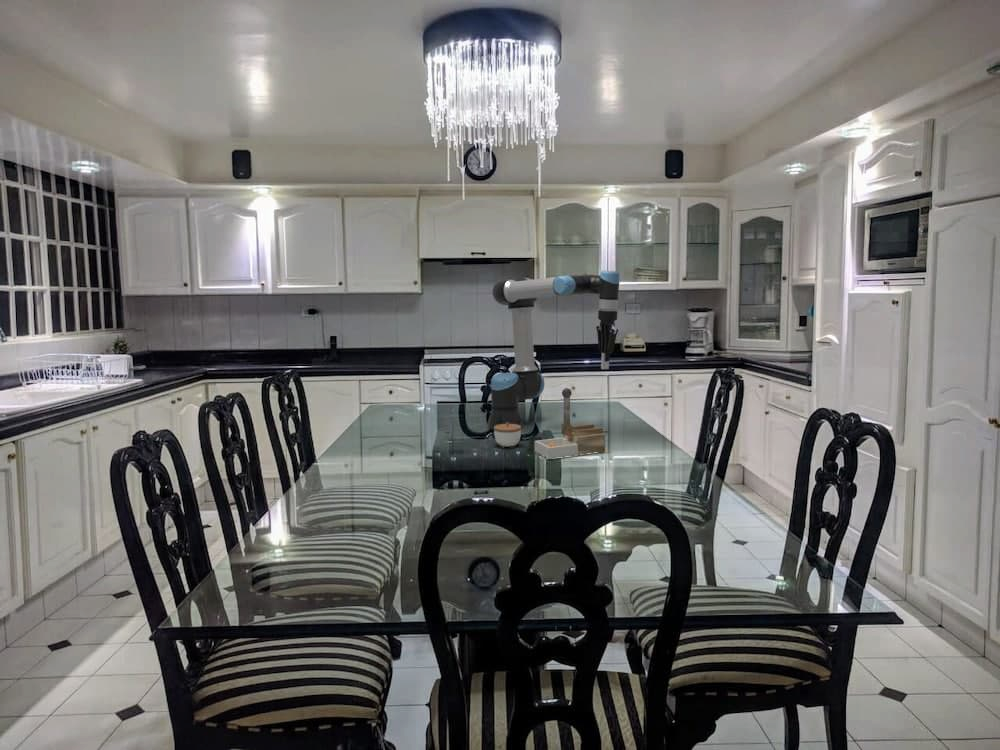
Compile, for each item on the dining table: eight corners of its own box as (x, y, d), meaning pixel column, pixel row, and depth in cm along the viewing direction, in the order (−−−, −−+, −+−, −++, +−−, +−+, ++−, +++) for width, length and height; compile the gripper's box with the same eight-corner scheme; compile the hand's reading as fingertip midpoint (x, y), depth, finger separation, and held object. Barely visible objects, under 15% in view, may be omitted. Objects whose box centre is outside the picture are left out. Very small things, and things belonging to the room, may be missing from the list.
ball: (555, 449, 275) (546, 454, 274) (551, 440, 274) (542, 444, 273) (560, 451, 272) (551, 456, 270) (556, 442, 270) (547, 447, 269)
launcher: (563, 449, 281) (563, 426, 279) (590, 445, 285) (590, 423, 284) (577, 455, 271) (577, 432, 269) (605, 452, 275) (605, 428, 274)
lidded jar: (498, 450, 281) (497, 426, 279) (491, 443, 291) (490, 420, 289) (524, 447, 284) (524, 424, 282) (516, 441, 294) (516, 418, 292)
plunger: (559, 433, 275) (559, 387, 273) (568, 432, 277) (568, 386, 274) (565, 436, 271) (565, 389, 268) (574, 435, 273) (574, 388, 270)
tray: (534, 452, 276) (534, 440, 276) (562, 448, 281) (562, 437, 280) (549, 460, 266) (548, 448, 265) (577, 456, 270) (577, 444, 269)
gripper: (625, 311, 284) (621, 371, 288) (607, 308, 296) (604, 366, 300) (608, 311, 281) (605, 371, 285) (591, 308, 293) (588, 366, 297)
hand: (604, 368), depth 292 cm, fingers closed
